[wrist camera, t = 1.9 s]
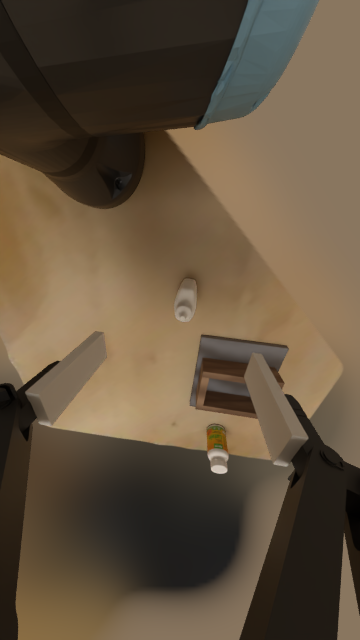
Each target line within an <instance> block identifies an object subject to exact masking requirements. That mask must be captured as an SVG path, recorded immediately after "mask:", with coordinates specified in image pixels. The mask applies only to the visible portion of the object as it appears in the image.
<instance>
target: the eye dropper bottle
mask: <svg viewBox="0 0 360 640" xmlns="http://www.w3.org/2000/svg"><path fill="white" fill-rule="evenodd" d="M196 304H197V285H196V281H195V280H194V279H189V278H185V279H184V280H183V281H182V283H181V285H180V288H179V290H178V293H177V295H176V298H175V303H174V311H175V317H176V318H177V319H178V320H179V321H181V322H189V321H190V320H191V319H192V317H193V315H194V313H195V310H196Z"/></svg>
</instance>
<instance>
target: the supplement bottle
mask: <svg viewBox="0 0 360 640" xmlns="http://www.w3.org/2000/svg"><path fill="white" fill-rule="evenodd" d="M207 450H208V458H209V460H210V461H211V470H212V471H213V472H215V473H218V474H222V473H226V472H227V464H226V461H227V460H228V449H227V442H226V434H225V429H224V428H223V427H222V426H220V425H217V424H213V425H210V426H208V428H207Z"/></svg>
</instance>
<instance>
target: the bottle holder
mask: <svg viewBox="0 0 360 640" xmlns="http://www.w3.org/2000/svg"><path fill="white" fill-rule="evenodd" d="M288 349H289V348H288V347H287V346H283V345H276V344H268V343H261V342H253V341H246V340H238V339H231V338H223V337H215V336H208V335H202V336H201V341H200V347H199V353H198V359H197V364H196V370H195V376H194V382H193V387H192V393H191V399H190V406H194V407H196V409H199V410H205V411H212V412H218V413H224V414H231V415H237V416H244V417H250V418H256V419H258V417H257V414H256V411H255V408H254V405H253V402H252V399H251V396H250V393H249V390H248V387H247V384H246V381H245V378H244V375H245V372H246V370H247V367H248V364H249V361H250V358H251V355H252V353H258V354H262V356H263V357H264V359H265V361H266V363H267V365H268V366H269V368H270V370H271V372H272V373H273V375H274V377H275V379H276V381H277V382H278V384H279V386H280V388H281V389H282V388H283V386H284V384H285V383H284V381H283V380H282V378H281V376H280V375H279V373H278V371H279V369H280V366H281V364H282V362H283V360H284V358H285V356H286V354H287V352H288Z"/></svg>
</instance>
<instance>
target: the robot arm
mask: <svg viewBox="0 0 360 640" xmlns="http://www.w3.org/2000/svg"><path fill="white" fill-rule="evenodd" d="M318 2H319V0H0V154H1V155H3V156H6V157H8V158H10V159H13V160H15V161H17V162H20V163H22V164H24V165H27V166H29V167H31V168H34V169H36V170H38V171H41V172H42V173H44V174H45V175H46V176H47V177H48V178H49V179H50V180H51V181H52V182H53V183H55V184H56V185H57V186H58V187H59V188H60V189H61V190H62V191H63V192H64V193H66V194H67V195H68V196H70V197H71V198H73V199H74V200H76V201H78V202H80V203H82V204H85V205H88V206H91V207H94V208H100V209H108V208H113V207H116V206H118V205H120V204H122V203H123V202H124V201H126V200H127V199H128V198H129V197H130V196H131V195H132V193H133V192H134V190H135V189H136V187H137V185H138V183H139V180H140V178H141V175H142V171H143V166H144V158H145V143H144V134H143V132H149V131H158V130H168V129H177V128H187V127H194V129H195V130H199V129H202V128H204V127H205V126H206V125H207V124H209V123H214V122H219V121H225V120H229V119H236V118H240V117H244V116H246V115H248V114H249V113H251V112H252V111H254V110H255V109H256V108H257V107H258V106H259V105H260V104H261V103H262V101H263V100H264V99H265V98H266V97H267V96H268V94H269V93H270V91H271V89H272V88H273V87H274V86H275V85H276V83H277V81H278V80H279V79H280V77H281V75H282V74H283V72H284V70H285V69H286V67H287V65H288V63H289V61H290V59H291V58H292V56H293V54H294V52H295V50H296V48H297V46H298V44H299V42H300V40H301V38H302V36H303V34H304V32H305V30H306V28H307V26H308V24H309V22H310V19H311V17H312V15H313V13H314V11H315V8H316V6H317V4H318ZM106 358H107V353H106V346H105V338H104V332H97V331H95V332H94V333H93V334H92V335H91V336H89V337H88V338H87V339H86V340H85V341H84V342H83V343H81V344H80V345H79V346H78V347H77V348H76V349H74V350H73V351H72V352H71V353H70V354H69V355H67V356H66V357H65V358H64V359H63V360H62V361H56V362H54V363H52V364H50V365H48V366H47V367H46V368H44V369H43V370H42V372H40V373H38V374H37V375H36V376H35V377H33V378H32V379H31V380H30V381H29V382H27V383H26V384H25V385H24V386H23V387H21V388H20V389H19V390H18V391H16V390H15V388H14V386H13V385H12V384H9V383H4V384H0V640H18V618H17V613H16V605H15V601H16V589H17V579H18V570H19V560H20V550H21V540H22V529H23V520H24V510H25V500H26V490H27V480H28V470H29V459H30V450H31V440H32V429H33V426H32V422H33V421H34V420H35V419H36V418H37V419H38V422H39V424H43V425H48V426H52V425H53V424H54V422H55V421H56V420H57V419H58V417H59V416H60V415H61V414H62V412H63V411H64V410H65V409H66V407H67V406H68V405H69V404H70V402H71V401H72V400H73V399H74V397H75V396H76V395H77V394H78V392H79V391H80V390H81V389H82V387H83V386H84V385H85V384H86V382H87V381H88V380H89V379H90V377H91V376H92V375H93V374H94V372H95V371H96V370H97V369H98V367H99V366H100V365H101V364H102V362H103V361H104V360H105V359H106ZM244 378H245V381H246V384H247V387H248V390H249V393H250V396H251V399H252V402H253V405H254V408H255V411H256V414H257V417H258V420H259V423H260V426H261V429H262V432H263V435H264V438H265V441H266V444H267V447H268V450H269V453H270V456H271V459H272V462H273V464H275V465H281V466H288V465H289V463H290V462H291V461H292V463H293V466H294V468H295V470H294V471H293V472H292V474H291V475H290V476H289V478H288V480H289V481H290V483H289V486H288V489H287V492H286V495H285V498H284V501H283V505H282V508H281V511H280V514H279V517H278V520H277V523H276V527H275V530H274V533H273V536H272V539H271V542H270V545H269V549H268V552H267V555H266V558H265V561H264V564H263V567H262V570H261V573H260V577H259V580H258V583H257V586H256V589H255V592H254V595H253V599H252V602H251V605H250V608H249V611H248V614H247V617H246V620H245V624H244V627H243V630H242V633H241V636H240V639H239V640H337V632H338V617H339V600H340V585H341V569H342V568H341V567H342V553H343V537H344V533H345V539H346V544H347V549H348V555H349V560H350V566H351V571H352V576H353V582H354V587H355V593H356V598H357V603H358V609H359V614H360V468H358V467H355V466H353V465H351V464H349V463H347V462H345V461H343V459H342V458H341V457H340V456H339V454H338V453H336V452H335V451H334V450H333V449H331V448H330V447H328V446H326V445H325V444H324V443H323V441H322V440H321V438H320V436H319V435H318V434H317V432H316V430H315V428H314V427H313V426H312V424H311V422H310V420H309V419H308V418H307V415H306V414H305V412H304V411H303V409H302V407H301V406H300V404H299V403H298V401H297V400H296V399H295V398H294V397H293V396H291V395H288V394H284V393H283V391H282V389H281V388H280V386H279V384H278V382H277V381H276V379H275V377H274V375H273V373H272V372H271V370H270V368H269V366H268V365H267V363H266V361H265V359H264V357H263V356H262V354H258V353H252V355H251V358H250V361H249V364H248V367H247V370H246V372H245V375H244Z"/></svg>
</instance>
